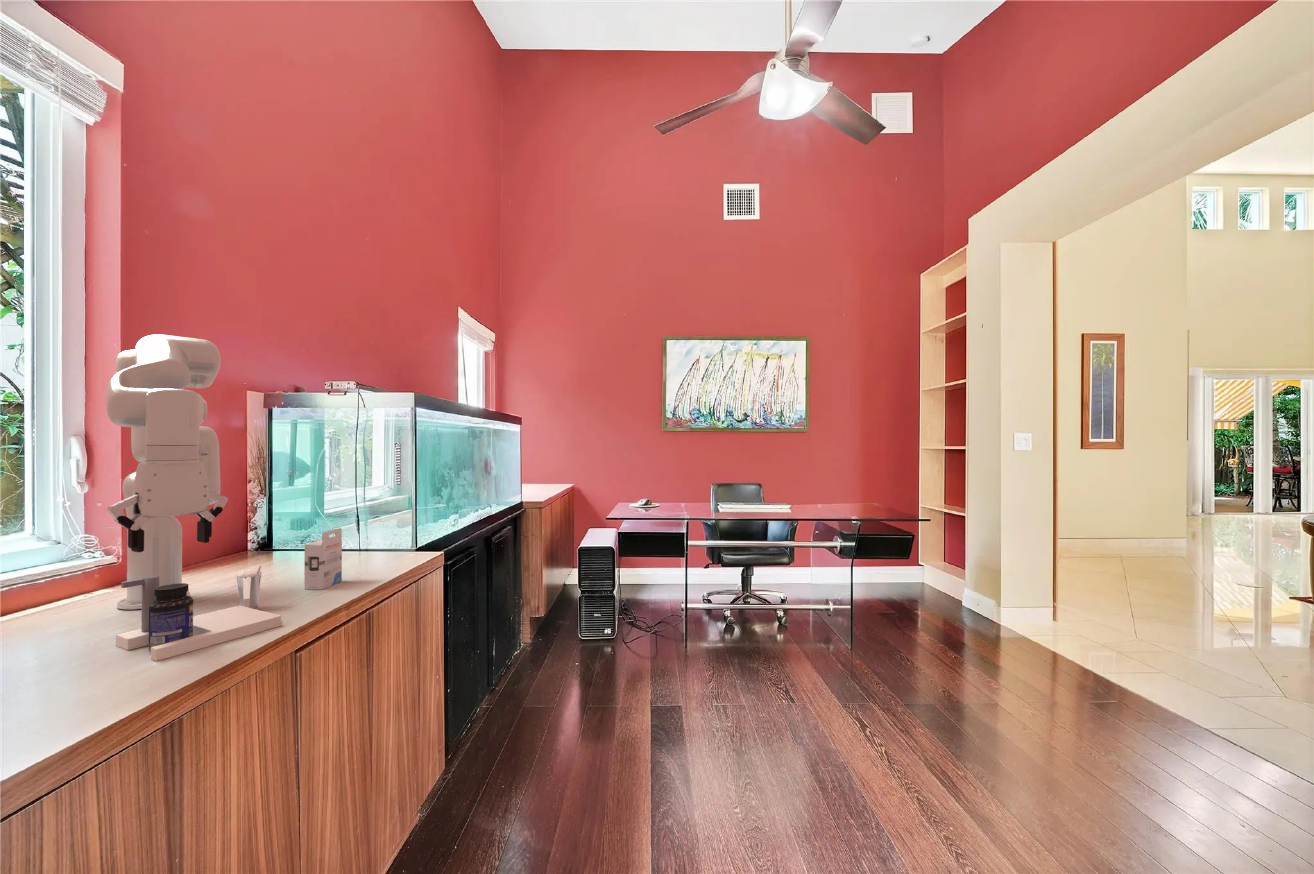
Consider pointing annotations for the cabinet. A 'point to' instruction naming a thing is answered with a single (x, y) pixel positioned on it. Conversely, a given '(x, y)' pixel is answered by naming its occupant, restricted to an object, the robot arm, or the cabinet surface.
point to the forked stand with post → (195, 625)
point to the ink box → (323, 561)
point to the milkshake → (249, 587)
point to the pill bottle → (170, 615)
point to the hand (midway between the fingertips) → (171, 546)
